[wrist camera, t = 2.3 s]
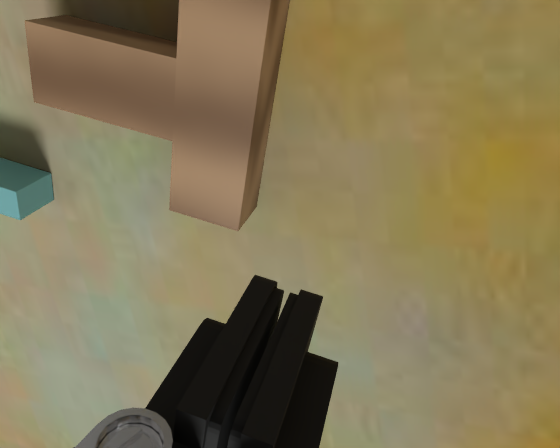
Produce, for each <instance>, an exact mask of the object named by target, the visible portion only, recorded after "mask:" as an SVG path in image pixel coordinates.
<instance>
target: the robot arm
mask: <svg viewBox="0 0 560 448" xmlns="http://www.w3.org/2000/svg"><path fill="white" fill-rule="evenodd" d="M283 294H284V290H281V289H278V288H277V282H276V281H273V280H270V279H267V278H263V277H260V276H257V275H255V276H254V277H253V278H252V280H251V282H250V284H249V285H248V287H247V289H246V290H245V292H244V294H243V295H242V297H241V299H240V301H239V302H238V304H237V306H236V307H235V309H234V311H233V312H232V314H231V316H230V318H229V319H228V321H227V323H226V324H224V323H221V322H218V321H215V320H212V319H209V318H206V319H205V320H204V321H203V322H202V323H201V325H200V326H199V328H198V329H197V331H196V332H195V334H194V335H193V337H192V338H191V340H190V341H189V343H188V344H187V346H186V347H185V349H184V350H183V352H182V353H181V355H180V357H179V358H178V360H177V361H176V363H175V364H174V366H173V367H172V369H171V370H170V372H169V373H168V375H167V376H166V378H165V379H164V381H163V382H162V384H161V385H160V387H159V388H158V390H157V391H156V393H155V394H154V396H153V397H152V399H151V400H150V402H149V404H148V405H147V407H146V408H129V409H123V410H119V411H117V412H115V413H113V414H111V415H108V416H107V417H106V418H105V419H103V420H102V421H101V422H100V423H98V424H97V425H96V426H95V427H94V428H93V429H92V430H91V431H90V432H89V433H88V434H87V436H86V437H85V438H84V439H83V440H82V441H81V442H80V443H79V444H78V445H77V446H76V447H74V448H319V445H320V441H321V436H322V432H323V428H324V424H325V419H326V415H327V411H328V406H329V402H330V398H331V394H332V389H333V385H334V381H335V376H336V372H337V368H338V362H336V361H333V360H330V359H327V358H324V357H321V356H318V355H315V354H312V353H309V352H308V349H309V345H310V341H311V338H312V334H313V331H314V327H315V324H316V320H317V317H318V313H319V310H320V306H321V303H322V299H323V296H320V295H317V294H314V293H310V292H307V291H304V290H300V293H299V295H296V294H293V293H290V294H289V297H288V299H287V301H286V303H285V306H284V308H283V310H282V312H281V315H280V317H279V319H278V316H279V312H280V307H281V303H282V298H283ZM277 321H278V322H277Z"/></svg>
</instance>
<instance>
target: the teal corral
mask: <svg viewBox="0 0 560 448" xmlns="http://www.w3.org/2000/svg"><path fill="white" fill-rule="evenodd" d="M53 200H54V197H53V187H52V178H51V173H49V172H45V171H42V170H39V169H36V168H33V167H29V166H26V165H23V164H20V163H16V162H13V161H10V160H7V159H3V158H0V214H3V215H6V216H9V217H12V218H15V219H18V220H21V219H23V218H25V217H26V216H28V215H30V214H31V213H33V212H34V211H36V210H38V209H39V208H41V207H43V206H44V205H46V204H48V203H49V202H51V201H53Z"/></svg>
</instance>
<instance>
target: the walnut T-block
mask: <svg viewBox="0 0 560 448" xmlns="http://www.w3.org/2000/svg"><path fill="white" fill-rule="evenodd" d="M289 2H290V0H179V13H178V35H177V42H174V41H170V40H166V39H162V38H158V37H154V36H150V35H146V34H142V33H137V32H133V31H129V30H125V29H121V28H117V27H113V26H109V25H105V24H101V23H97V22H92V21H88V20H84V19H80V18H76V17H72V16H68V15H63V16H56V17H48V18H40V19H32V20H25V29H26V37H27V46H28V55H29V63H30V72H31V80H32V89H33V97H34V102H36V103H39V104H43V105H46V106H50V107H53V108H57V109H61V110H64V111H68V112H71V113H75V114H78V115H82V116H85V117H89V118H92V119H96V120H99V121H103V122H107V123H110V124H114V125H117V126H121V127H124V128H128V129H131V130H135V131H138V132H142V133H145V134H149V135H152V136H156V137H160V138H163V139H167V140H170V141H173V143H172V165H171V186H170V208H169V210H171V211H174V212H178V213H181V214H184V215H187V216H191V217H194V218H197V219H200V220H203V221H207V222H210V223H213V224H216V225H220V226H223V227H226V228H229V229H233V230H236V231H239V229H240V228H241V227H242V225H243V224H244V223H245V221H246V220H247V219H248V217H249V216H250V215H251V213H252V212H253V211H254V209H255V208H256V207H257V201H258V195H259V188H260V182H261V176H262V170H263V163H264V157H265V151H266V145H267V139H268V132H269V126H270V120H271V114H272V108H273V101H274V95H275V89H276V83H277V76H278V70H279V64H280V58H281V52H282V45H283V39H284V33H285V27H286V21H287V14H288V8H289Z"/></svg>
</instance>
